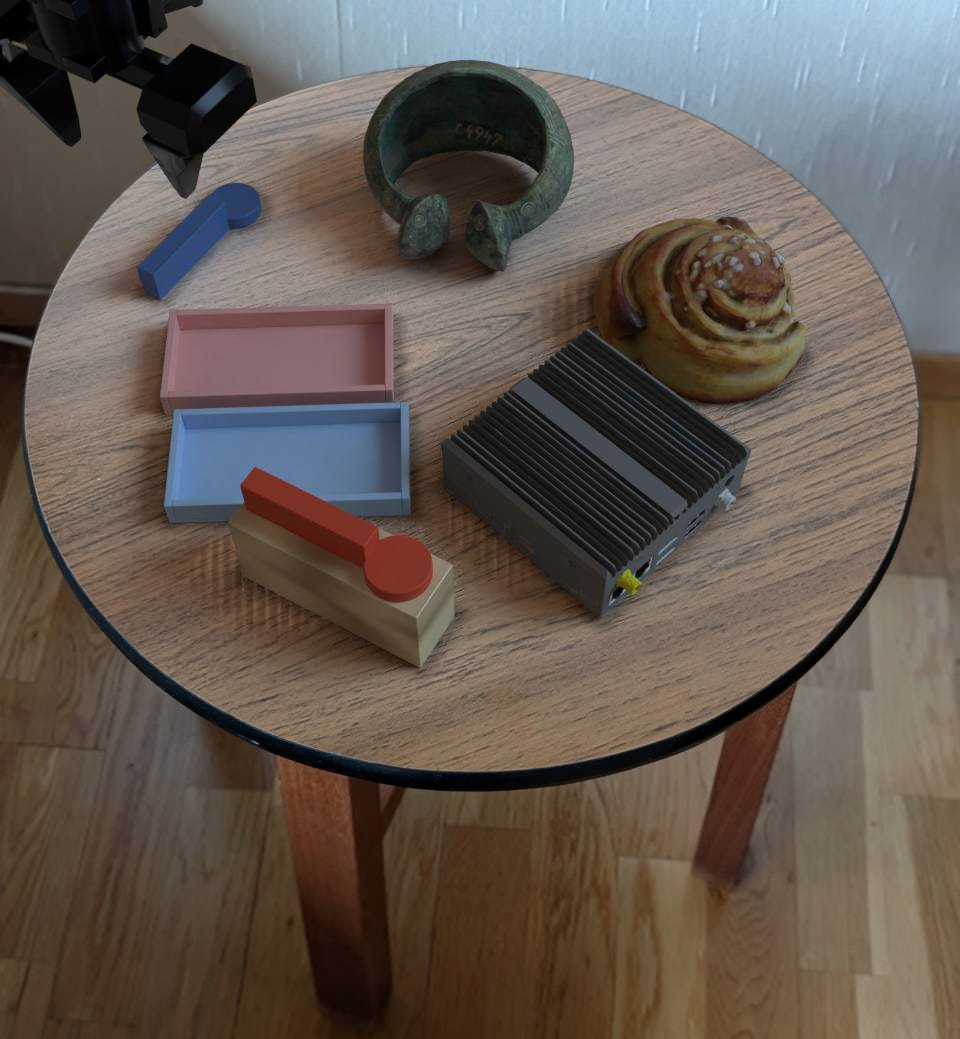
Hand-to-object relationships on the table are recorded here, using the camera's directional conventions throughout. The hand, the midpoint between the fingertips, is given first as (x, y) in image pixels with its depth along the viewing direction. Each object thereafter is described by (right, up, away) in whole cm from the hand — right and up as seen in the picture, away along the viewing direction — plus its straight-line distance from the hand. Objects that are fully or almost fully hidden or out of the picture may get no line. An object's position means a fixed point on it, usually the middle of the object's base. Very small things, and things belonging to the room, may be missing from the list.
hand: (130, 167), depth 85 cm
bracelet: (+21, 0, +13) cm, 25 cm away
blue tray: (+10, -19, 0) cm, 22 cm away
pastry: (+37, -9, +7) cm, 39 cm away
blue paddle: (+2, -3, +11) cm, 12 cm away
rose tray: (+9, -12, +5) cm, 16 cm away
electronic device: (+29, -21, 0) cm, 36 cm away
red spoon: (+14, -24, -10) cm, 29 cm away
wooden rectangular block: (+14, -27, -5) cm, 31 cm away
